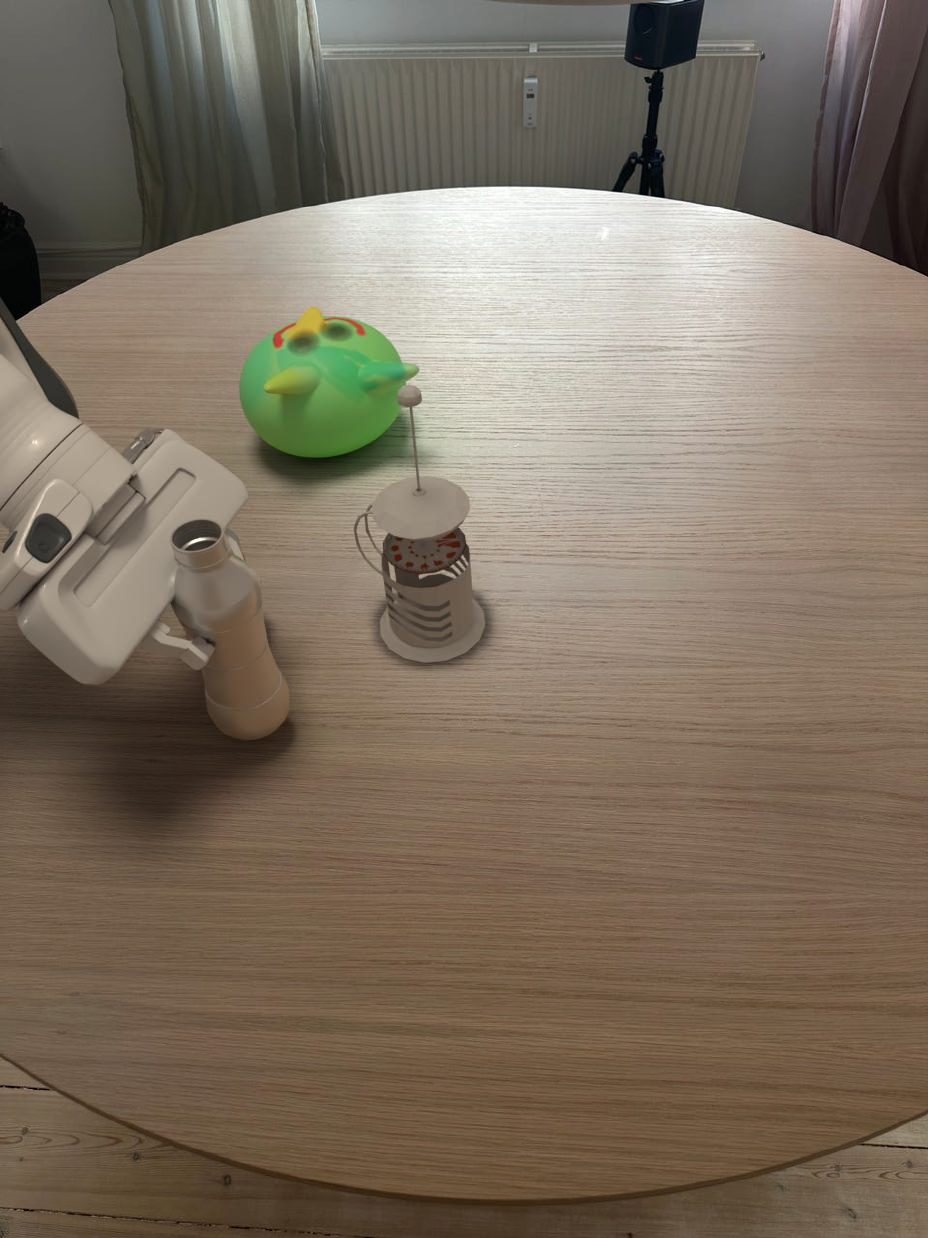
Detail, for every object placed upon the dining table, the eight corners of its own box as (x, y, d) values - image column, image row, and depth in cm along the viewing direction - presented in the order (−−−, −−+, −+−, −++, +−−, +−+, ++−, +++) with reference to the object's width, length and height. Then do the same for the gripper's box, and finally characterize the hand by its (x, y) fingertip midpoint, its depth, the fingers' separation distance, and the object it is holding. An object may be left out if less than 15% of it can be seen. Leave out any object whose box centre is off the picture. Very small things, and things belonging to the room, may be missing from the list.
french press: (452, 677, 86) (432, 438, 68) (342, 634, 90) (295, 399, 72) (504, 606, 91) (498, 369, 74) (398, 568, 96) (368, 336, 78)
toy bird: (384, 386, 119) (370, 270, 108) (435, 461, 108) (425, 341, 97) (239, 424, 114) (210, 307, 104) (276, 507, 103) (248, 385, 93)
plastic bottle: (237, 681, 84) (178, 497, 70) (308, 699, 82) (262, 514, 68) (199, 739, 80) (127, 556, 66) (273, 759, 78) (216, 575, 64)
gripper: (137, 436, 77) (272, 552, 82) (-32, 615, 64) (141, 741, 68) (172, 395, 73) (312, 520, 77) (-1, 578, 59) (180, 715, 64)
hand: (231, 625), depth 73 cm, fingers closed on plastic bottle, 6 cm apart
